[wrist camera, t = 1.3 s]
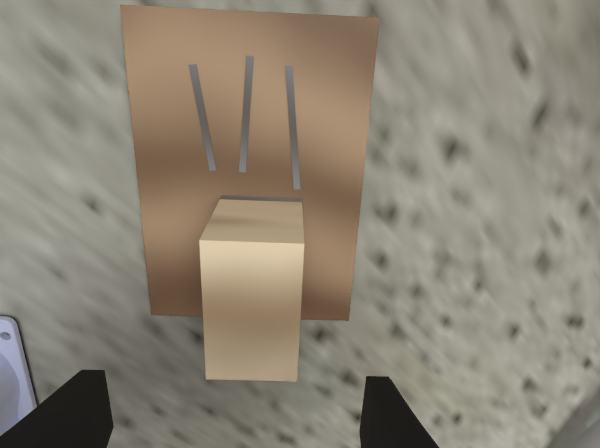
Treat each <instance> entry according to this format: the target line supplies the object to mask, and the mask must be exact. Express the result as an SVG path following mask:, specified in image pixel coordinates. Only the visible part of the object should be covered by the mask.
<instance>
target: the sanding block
mask: <svg viewBox="0 0 600 448" xmlns="http://www.w3.org/2000/svg"><path fill="white" fill-rule="evenodd" d="M199 246H200V266H201V287H202V308H203V329H204V350H205V371H206V379H215V380H256V381H297V375H298V356H299V337H300V318H301V299H302V280H303V261H304V228H303V212H302V198H289V197H262V196H235V195H222V196H221V198H220V200H219V202H218V204H217V206H216V208H215V210H214V212H213V214H212V216H211V218H210V220H209V222H208V224H207V226H206V228H205V230H204V232H203V234H202V236H201V238H200V240H199Z"/></svg>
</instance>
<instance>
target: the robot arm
mask: <svg viewBox="0 0 600 448" xmlns="http://www.w3.org/2000/svg"><path fill="white" fill-rule="evenodd" d="M6 332H7V333H8V334H10V335H8V334H6ZM113 427H114V426H113V420H112V414H111V408H110V402H109V395H108V389H107V383H106V377H105V370H81V371H80V372H79V373H77V374H76V375H75V376H73V377H72V378H71V379H70V380H69V381H67V382H66V383H65V384H64V385H63V386H61V387H60V388H59V389H58V390H57V391H55V392H54V393H53V394H52V395H51V396H49V397H48V398H47V399H46V400H45V401H43V402H42V403H41V404H40V405H39V406H37V405H36V400H35V396H34V392H33V388H32V384H31V380H30V376H29V371H28V367H27V363H26V359H25V355H24V351H23V346H22V342H21V338H20V334H19V330H18V326H17V323H16V321H15V320H14V319H12V318H10V317H6V316H0V448H107V445H108V442H109V439H110V436H111V433H112V430H113ZM360 440H361V448H439V447H438V445H437V444H436V443H435V442H434V440H433V439H432V438H431V436H430V435H429V434H428V432H427V431H426V430H425V428H424V427H423V426H422V424H421V423H420V422H419V420H418V419H417V417H416V416H415V415H414V413H413V412H412V410H411V409H410V407H409V406H408V405H407V403H406V402H405V400H404V399H403V397H402V396H401V394H400V393H399V391H398V390H397V388H396V386H395V385H394V383H393V382H392V380H391V379H390V378H389V377H376V376H366V384H365V392H364V400H363V408H362V416H361V424H360Z"/></svg>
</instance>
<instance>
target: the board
mask: <svg viewBox="0 0 600 448" xmlns="http://www.w3.org/2000/svg"><path fill="white" fill-rule="evenodd" d="M120 9H121V19H122V29H123V39H124V49H125V59H126V68H127V78H128V88H129V98H130V108H131V118H132V128H133V138H134V148H135V158H136V168H137V178H138V187H139V197H140V207H141V217H142V227H143V237H144V247H145V257H146V267H147V277H148V287H149V297H150V306H151V315H169V316H203V308H202V287H201V266H200V246H199V240H200V238H201V236H202V234H203V232H204V230H205V228H206V226H207V224H208V222H209V220H210V218H211V216H212V214H213V212H214V210H215V208H216V206H217V204H218V202H219V200H220V198H221V196H222V195H235V196H262V197H289V198H302V212H303V228H304V261H303V280H302V299H301V318H300V319H310V320H345V321H349V312H350V302H351V292H352V283H353V273H354V263H355V253H356V244H357V234H358V224H359V214H360V205H361V195H362V185H363V175H364V165H365V156H366V146H367V136H368V126H369V117H370V107H371V97H372V87H373V78H374V68H375V58H376V48H377V38H378V29H379V19H380V18H375V17H355V16H335V15H315V14H295V13H275V12H255V11H236V10H216V9H196V8H176V7H156V6H136V5H120Z"/></svg>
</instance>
